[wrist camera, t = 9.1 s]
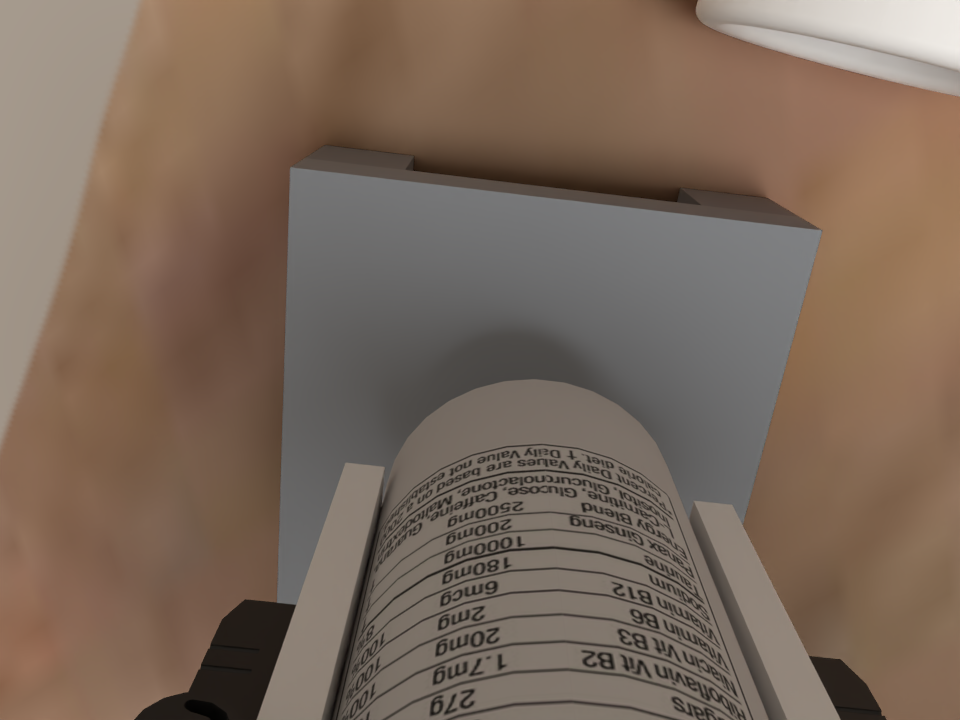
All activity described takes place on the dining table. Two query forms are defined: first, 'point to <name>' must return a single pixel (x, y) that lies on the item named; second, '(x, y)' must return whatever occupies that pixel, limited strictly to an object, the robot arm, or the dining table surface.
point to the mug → (853, 35)
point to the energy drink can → (538, 574)
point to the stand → (525, 319)
